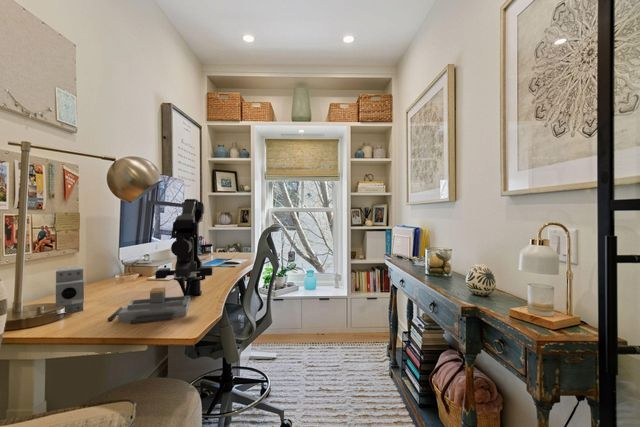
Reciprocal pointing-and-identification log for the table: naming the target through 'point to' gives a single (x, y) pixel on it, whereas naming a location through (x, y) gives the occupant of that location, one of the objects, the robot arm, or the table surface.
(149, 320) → the charcoal thin cylinder
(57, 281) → the circuit breaker
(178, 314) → the panel
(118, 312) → the dark grey rod
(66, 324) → the table surface
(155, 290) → the toggle
